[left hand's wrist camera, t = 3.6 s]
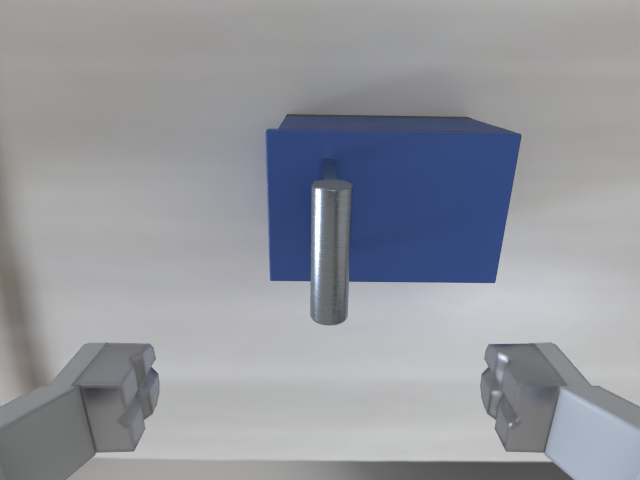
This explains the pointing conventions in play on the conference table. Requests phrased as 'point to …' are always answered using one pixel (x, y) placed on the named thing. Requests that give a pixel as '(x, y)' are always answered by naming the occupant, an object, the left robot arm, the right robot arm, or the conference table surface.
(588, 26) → the conference table surface
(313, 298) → the lid
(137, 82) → the conference table surface
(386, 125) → the chest
